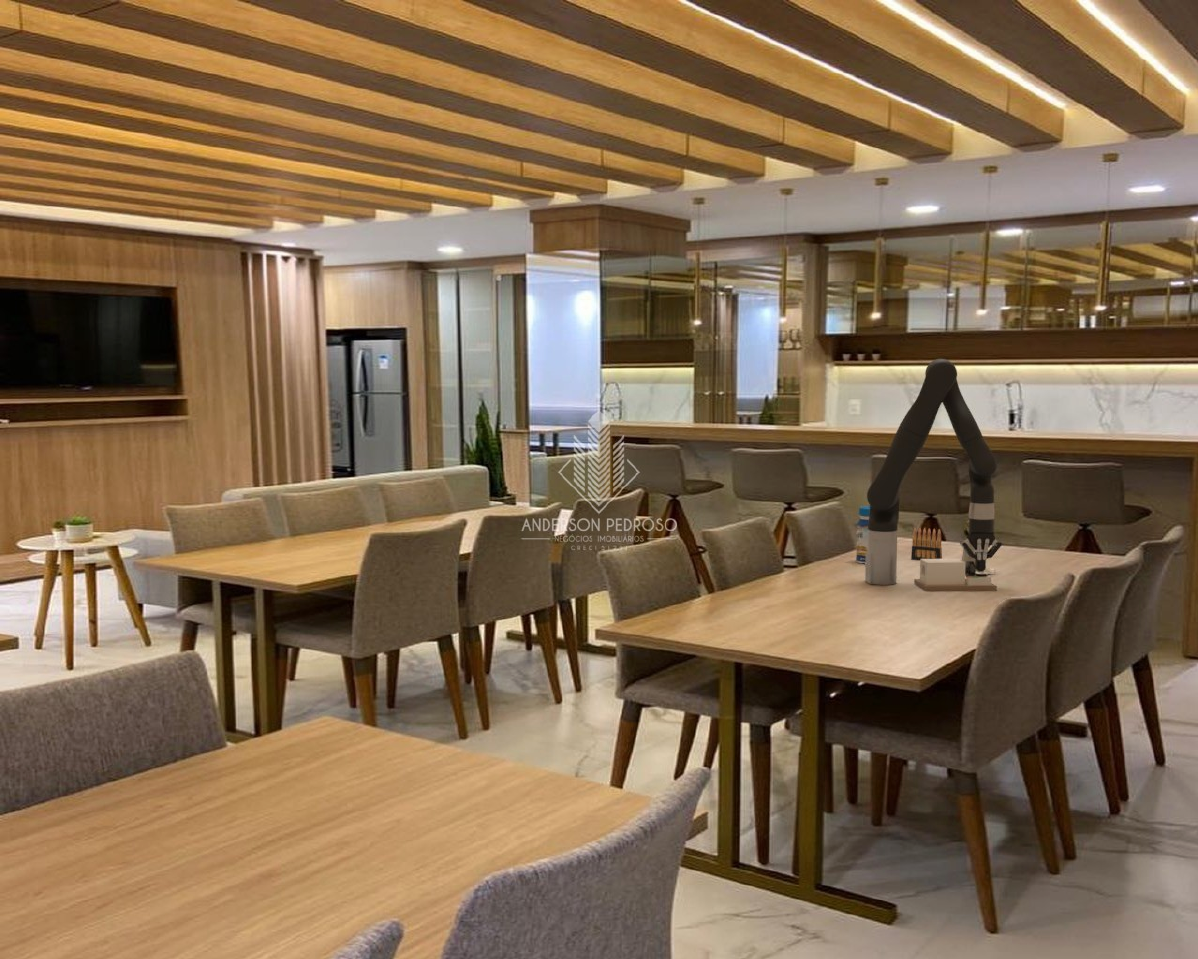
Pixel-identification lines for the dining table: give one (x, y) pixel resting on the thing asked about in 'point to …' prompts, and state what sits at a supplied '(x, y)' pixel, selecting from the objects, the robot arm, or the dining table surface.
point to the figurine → (967, 558)
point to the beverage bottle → (862, 534)
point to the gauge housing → (950, 577)
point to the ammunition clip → (926, 545)
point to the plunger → (970, 569)
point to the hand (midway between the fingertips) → (980, 571)
